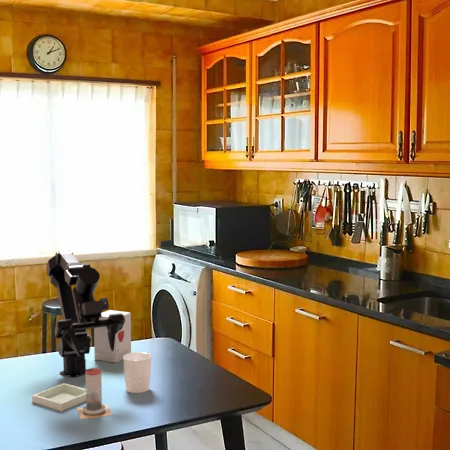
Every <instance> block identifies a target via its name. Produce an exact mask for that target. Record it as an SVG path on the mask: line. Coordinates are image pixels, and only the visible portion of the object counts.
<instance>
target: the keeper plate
mask: <svg viewBox="0 0 450 450" xmlns="http://www.w3.org/2000/svg"><path fill="white" fill-rule="evenodd" d="M102 405H104V406H105V412H104V413H103V414H100V415H95V416H89V415H85V414H84V413H83V408H84V407H85V406H82V407H77V408H76V411H77V412H78V413H77V414H78V416H79V417H80V420H88V419H95V418H100V417H101V418H102V417H108V416H113V412H112V411H111V409H110V407H109V405H108V403H102Z"/></svg>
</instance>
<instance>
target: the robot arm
mask: <svg viewBox="0 0 450 450" xmlns="http://www.w3.org/2000/svg"><path fill="white" fill-rule="evenodd" d="M45 269H46V270H45V271H46V276H47V277H49V282H50V284H51V285H52V286H54V287H55V288H56V291H57V292H56V293H57V297H58V300H59V306H60V311H61V316H62V317H61V318H62V319H59V320H57V322H56V324H55V326H54V335H55V336H54V337H55V338H56V339H59V341H58V342H59V343H58V347H57V348H58V354H59V356H60V357H61V358H63V359H62V360H63V364H62V365H63V370H62V371H59V374H60V375H62V376H67V377H71V378H76V377H79V376H82V375H84V374H85V375H86V370H87V367H86V365H87V364H86V363H87V362H86V361H87V360H86V354H88V355H90V351H91V343H92V338H91V337H90V334H89V333H88V331H87V330H89V329H90V330H91V329H94V328H99V327H107V330H108V333H107V334H108V339H109V344H110V348H111V351H113V350H114V343H115V335H116V333H118V331H120V330H122V327H123V325H124V323H125V317H124V315H123V314H121V313H118V314H110V315H109V317H108V319H107V320H100V319H99V318H101V316H102V314H101V313H103V312H104V311H108V309H109V308H110V304H109V300H108V297H102V298H100V299H99V300H95V299H96V298H95V294H94V293H95V292H96V290H97V286H98V284H99V281H100V278H101V277H100V276H101V275H100V272H99V271H98V270H97V269H96V268H94V267H92V266H91V264H88V263H86V262H80V261H79V260H78V258H77V257H76V256H75V255H74V251H72V250H58V251H56V252H55V255H54V256H52V257H51V258H49V259H48V261H47V263H46V268H45ZM72 286H74V287H73V288H72Z"/></svg>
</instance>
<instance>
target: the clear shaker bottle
mask: <svg viewBox="0 0 450 450" xmlns="http://www.w3.org/2000/svg"><path fill="white" fill-rule="evenodd" d="M102 381H103V380H102V368H99V367H92V368H91V367H90V368H86V373H85V389H86V401H85V402H86V403H85V404H86V405H84V406H83V407H84V408H83V413H84V414H85V415H89V416H95V415H100V414H103V413H104V412H105V406H104V405H102V404H103V392H102V390H103V387H102V383H103V382H102Z"/></svg>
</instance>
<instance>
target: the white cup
mask: <svg viewBox="0 0 450 450" xmlns="http://www.w3.org/2000/svg"><path fill="white" fill-rule="evenodd" d="M122 362H123V373H124V374H123V375H124V383H125V390H126V391H127V392H129V393H133V394H137V393H138V394H139V393H145V392H148V391H150V389H151V386H150V385H151V375H152V374H151V373H152V372H151V371H152V369H151V368H152V355H151V354H150V353H149V352H143V351H139V352H138V351H137V352H134V351H133V352H131V353H129V354H126V355H124V356H123V360H122Z"/></svg>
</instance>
